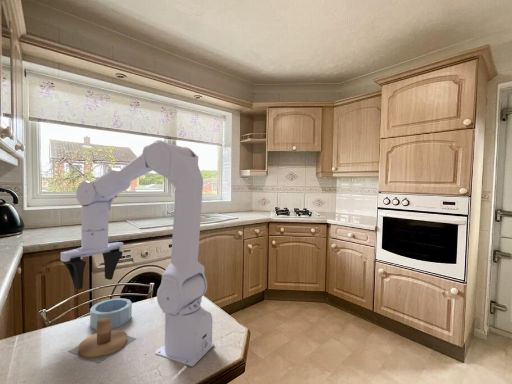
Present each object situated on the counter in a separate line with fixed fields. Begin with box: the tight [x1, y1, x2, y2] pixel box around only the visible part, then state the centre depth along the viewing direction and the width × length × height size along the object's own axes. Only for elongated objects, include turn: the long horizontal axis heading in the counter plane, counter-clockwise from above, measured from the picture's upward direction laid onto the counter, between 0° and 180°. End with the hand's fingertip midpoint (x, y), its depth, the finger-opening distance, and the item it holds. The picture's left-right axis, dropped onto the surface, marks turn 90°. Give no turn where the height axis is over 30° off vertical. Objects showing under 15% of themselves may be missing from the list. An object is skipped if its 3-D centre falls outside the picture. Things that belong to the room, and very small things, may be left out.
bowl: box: [89, 297, 133, 330], centre depth 65 cm, size 9×9×4 cm
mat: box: [67, 335, 137, 364], centre depth 55 cm, size 9×9×1 cm
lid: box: [78, 318, 128, 359], centre depth 55 cm, size 9×9×5 cm
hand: (94, 283), depth 64 cm, fingers open, 7 cm apart
